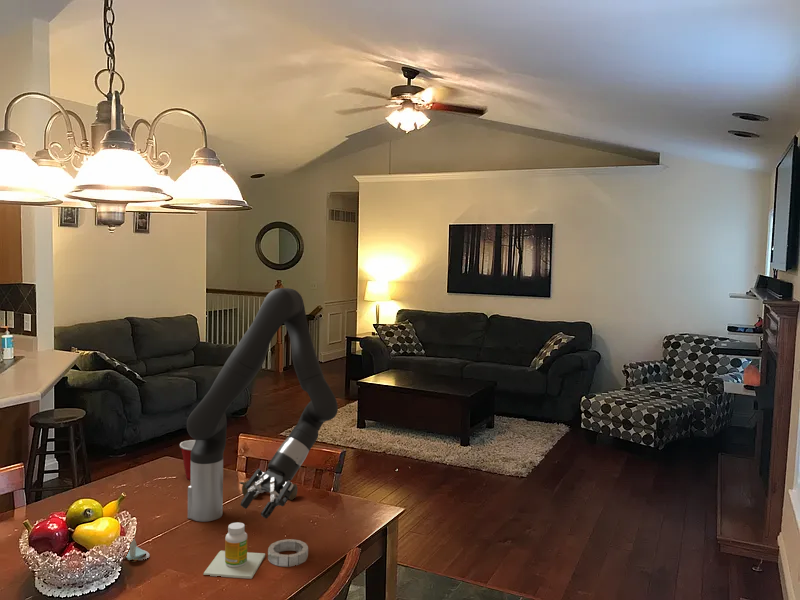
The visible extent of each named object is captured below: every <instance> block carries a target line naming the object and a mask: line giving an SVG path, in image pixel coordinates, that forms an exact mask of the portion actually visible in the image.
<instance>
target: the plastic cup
mask: <svg viewBox="0 0 800 600" xmlns="http://www.w3.org/2000/svg"><path fill="white" fill-rule="evenodd" d="M195 441H196V439H189V440H184V441H181V442H180V443H179V448H180V449H181V450H180V451H181V455H182V460H183V466H184V467H183V468H184V471H185V477H186V480H188V481H191V450H192V448H193V446H194V444H195Z"/></svg>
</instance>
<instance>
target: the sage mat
mask: <svg viewBox="0 0 800 600" xmlns="http://www.w3.org/2000/svg"><path fill="white" fill-rule="evenodd" d="M265 557H266V553H263V552H249V551H247V562H246V564H244V565H243V566H240V567H229V566H227V565H226V564H225V550H220V551H219V552H218V553H217V554H216V556H215V557H214V559H213V560H212V561H211V562H210V564H209V565H208V567H206V569H205V571H204V572H203V575H210V576H209V577H217V576H221V577H220V578H234V579H250V580H252V579H253V577H254V575H255V574H256V573H257V571H258V569H259V567H260V565H261V564H262V562H263V560H264V559H265Z"/></svg>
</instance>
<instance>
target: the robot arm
mask: <svg viewBox="0 0 800 600" xmlns="http://www.w3.org/2000/svg"><path fill="white" fill-rule="evenodd" d="M305 307H306V306H305V304H304V299H303V296H302V294H301V293H300V292H299V291H297V290H296V289H293V288H289V287H288V288H285V287H284V288H283V287H279V288H275V289H272V290H271V291H270V292H269V293H268V294H266V296H265V298H264V299H263V301H262V303H261V306H260V308H259V309H258V311H257V313H256V315H255V317H254V319H253V321H252V322H251V324H250V326H249V327H248V329H247V330H246V331H245V333H244V335H242V337H241V338H240V341H239V342H238V344H237V345H236V346H235V347H234V349H233V350H232V352H231V353H230V355H229V356H228V358H227V360H226V361H225V363H224V364H223V366H222V368H221V369H220V371H219V372H218V375H217V376H216V378H214V381H213V383H212V385H211V387H210V388H209V389H208V391H207V392H206V393H205V395H204V397H203V398H202V399H201V400H200V402H198V404H197V406H196V407H195V408H194V409H193V410H192V411H191V413H190V414H189V415H188V418H187V419H186V431H187V433H188V435H189V437H191V438H192V440H196V441H195V444H194V446H193V448H192V450H191V480H190V484H189V485H188V486H187V519H188V520H189V519H191V520H193V521H195V522H204V523H206V522H211V521H215V520H218V519H221V518H222V516H223V509H224V506H223V502H224V501H223V500H224V494H223V493H224V492H223V491H224V451H225V449H226V444H227V429H228V428H227V426H228V424H227V422H228V421H227V420H228V419H227V414H226V412H227V410H228V408H229V407H230V406H231V404H233V402H234V401H235V400H236V399H237V398H238V397H239V396H240V395H241V394H242V393H243V392H244V391H245V389H246V388H247V387H248V386H249V385H250V384H251V382H252V381H253V380H254V378H255V377H256V376H257V374H258V373H259V371H260V369H261V368H262V367H263V365H264V363H265V361H266V357H267V354H268V351H269V348H270V344H271V341H272V340H273V337H274V336H275V335H276V333H277V332H278V331H279V329H280V328H281V327H282V325H283V324H284V326H285V328H286V330H287V333H288V336H289V341H290V347H291V359H292V364H293V367H294V371H295V374H296V376H297V380H298V382H299V385H300V388H301V389H302V390H303V391H304V392H306V393H307V395H308V396H309V398H310V399H309V400H310V401H309V402H308V403H307V405H306V406H305V407H304V409H303V411H302V413H301V414H300V417H299V419H298V421H297V423H296V425H295V426H294V427H293V428H292V431H291V432H290V433H289V434H288V436H287V437H286V438H285V440H284V441H283V442H282V443H281V444H280V446H279V448H278V449H277V451H276V452H275V453H274V455H273V456H272V457H271V459H270V461H269V463H268V464H267V470H266V471H262V469H261V468H257V469H256V471H254V473H253V474H252V476H251V477H250V478H249V480H247V481H248V482H247V484H246V485H245V488H246V489H247V490H248V492H247V494H246V495H245V496H244V497H243V498H242V499H241V502H240V506H241V507H242V508H243V509H245V510H247V508H249V506H250V505H251V503H252V502H253V500H254V496H255V495H257V494H258V495H259V494H260V493H261V494H263V493H264V492H266V493H269V495H270V498H269V499H270V500H269V501H267V503H266V505H265V506H264V508H263V509H262V511H261V512H260V516H261V517H263V518H264V519H268V518H269V517H270V516H271V515H272V513H273V512H274V511H275V509H276V508H277V507H278V506H281V507H284V506H285V505H286V504H287V502H288V500H289V497H290V495H291V493H292V492H293V490H294V488H295V486H294V485H293V484H294V483H292V482H291V481H292V480H293V478H294V477H295V476H296V474H297V472H298V471H299V469H300V468H301V466H302V465H303V463H304V461H305V460H306V458H307V456H308V454H309V452H310V451H311V449H312V448H313V446H314V445H315V443H316V441H317V440H318V437H319V431H320V429H321V427H322V426H323V424H324V423H325V422H329V421H331V420H332V419H334V418H336V417H337V414H338V410H339V407H338V401H337V398H336V396H335V394H334V392H333V391H332V389H331V387H330V386H329V384H328V382H327V381H326V379H325V376H324V373H323V370H322V367H321V365H320V361H319V359H318V356H317V354H316V350H315V347H314V343H313V339H312V336H311V333H310V329H309V324H308V320H307V314H306V309H305ZM253 482H254V483H253ZM252 483H253V485H252V486H250V485H251V484H252ZM260 485H261V486H260ZM255 489H257V490H255ZM281 490H282V491H281Z"/></svg>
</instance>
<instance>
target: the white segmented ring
mask: <svg viewBox="0 0 800 600" xmlns="http://www.w3.org/2000/svg"><path fill="white" fill-rule="evenodd" d="M286 551H290V552H291V551H292V552H296V553H291V554H282V553H281V552H286ZM308 556H309V546H308V544H307V543H306V542H304V541H303V540H300V539H293V538H291V539H289V538H288V539H287V538H286V539H281V540H277V541H275V542H273V543H271V544H270V545H269V547H268V548H267V560H268V562H269V563H270V564H272V565H274V566H277V567H286V568H290V567H294V566H295V565H296V566H299V565H301V564H304V563H305V562H306V561H307V560H308Z"/></svg>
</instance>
